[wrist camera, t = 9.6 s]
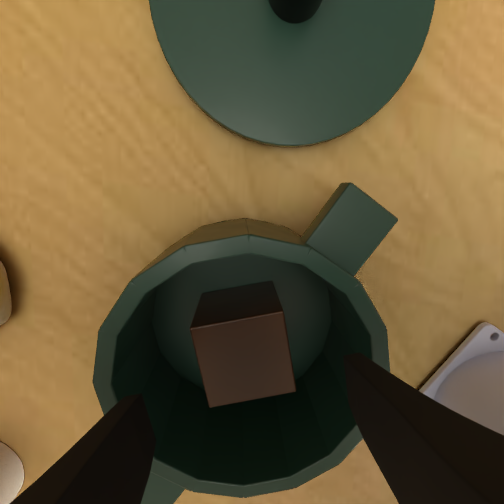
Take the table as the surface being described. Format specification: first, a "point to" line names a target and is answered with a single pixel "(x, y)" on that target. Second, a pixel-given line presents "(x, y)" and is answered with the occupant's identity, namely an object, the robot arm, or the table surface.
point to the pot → (300, 341)
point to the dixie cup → (9, 474)
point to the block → (242, 344)
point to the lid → (291, 61)
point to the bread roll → (4, 296)
